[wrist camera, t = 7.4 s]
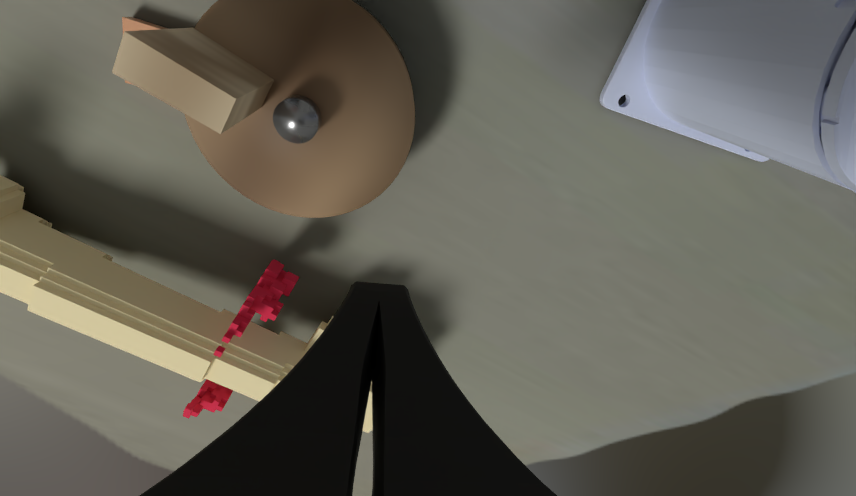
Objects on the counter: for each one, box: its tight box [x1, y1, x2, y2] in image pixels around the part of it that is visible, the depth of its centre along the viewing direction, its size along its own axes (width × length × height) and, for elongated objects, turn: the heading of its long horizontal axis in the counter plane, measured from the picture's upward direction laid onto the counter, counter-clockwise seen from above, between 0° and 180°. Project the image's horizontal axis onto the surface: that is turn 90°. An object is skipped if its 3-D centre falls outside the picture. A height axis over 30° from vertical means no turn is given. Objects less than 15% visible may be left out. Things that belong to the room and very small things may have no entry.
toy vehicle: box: [0, 175, 373, 433], centre depth 19 cm, size 10×9×25 cm
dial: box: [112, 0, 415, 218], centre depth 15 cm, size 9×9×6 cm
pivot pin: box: [273, 95, 322, 144], centre depth 15 cm, size 2×2×1 cm
